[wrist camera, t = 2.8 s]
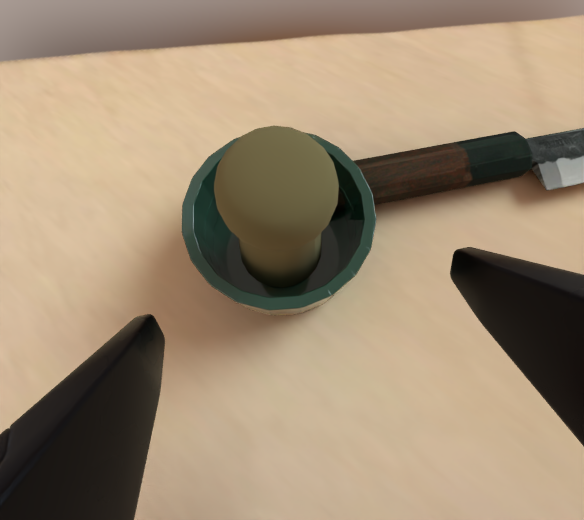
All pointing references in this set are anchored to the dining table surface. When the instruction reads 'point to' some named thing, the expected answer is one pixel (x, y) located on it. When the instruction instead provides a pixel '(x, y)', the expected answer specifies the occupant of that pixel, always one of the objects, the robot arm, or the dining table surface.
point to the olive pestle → (277, 202)
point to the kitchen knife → (474, 165)
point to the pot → (226, 251)
